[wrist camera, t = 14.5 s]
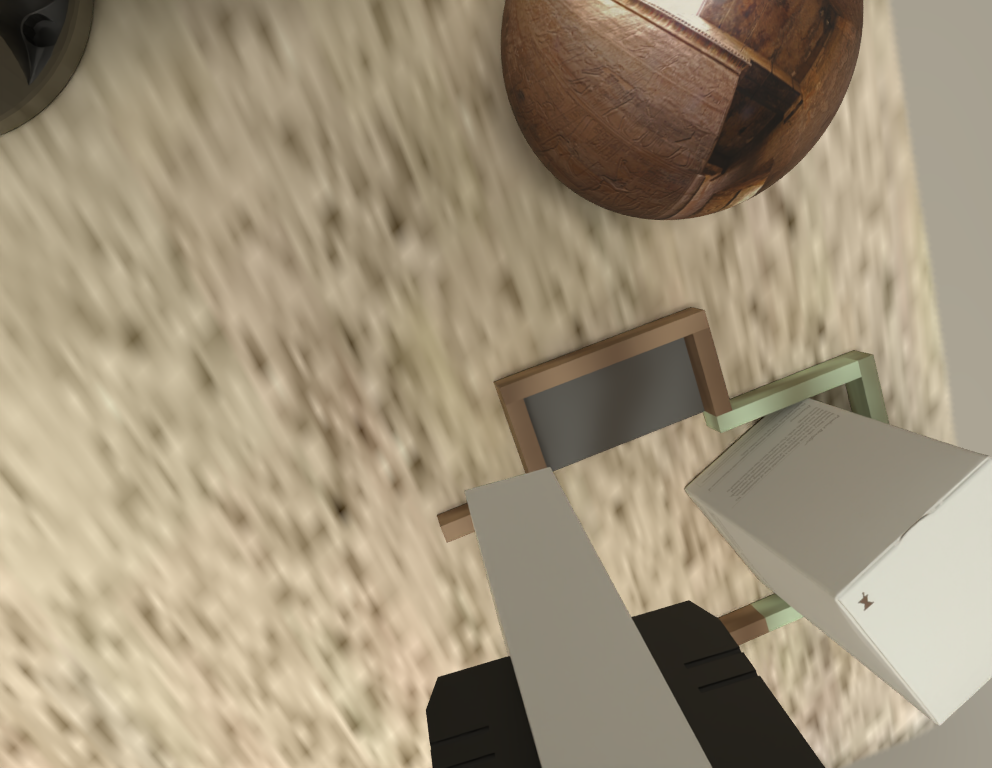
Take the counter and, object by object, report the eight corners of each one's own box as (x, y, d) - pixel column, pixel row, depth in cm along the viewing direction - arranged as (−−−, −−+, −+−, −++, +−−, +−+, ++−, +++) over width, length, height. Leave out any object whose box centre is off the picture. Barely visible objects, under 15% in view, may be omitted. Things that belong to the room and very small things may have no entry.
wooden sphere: (500, -108, 39) (588, -319, 24) (773, -40, 42) (998, -190, 27) (457, 199, 41) (514, 175, 26) (719, 243, 44) (900, 243, 29)
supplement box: (762, 588, 48) (938, 737, 34) (679, 487, 46) (830, 600, 32) (871, 492, 49) (1092, 598, 34) (794, 386, 46) (995, 452, 32)
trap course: (546, 800, 48) (554, 821, 47) (399, 417, 42) (401, 425, 41) (920, 634, 51) (940, 648, 49) (830, 254, 45) (850, 254, 44)
